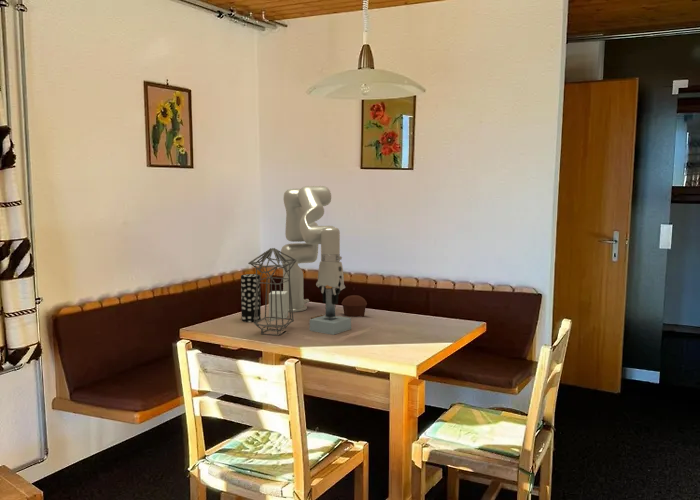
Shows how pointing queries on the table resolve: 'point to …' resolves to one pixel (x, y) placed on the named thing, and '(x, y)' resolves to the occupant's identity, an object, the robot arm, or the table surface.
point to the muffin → (354, 306)
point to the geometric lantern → (282, 259)
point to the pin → (329, 302)
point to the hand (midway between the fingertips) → (330, 302)
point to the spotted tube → (249, 297)
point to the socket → (330, 324)
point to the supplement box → (278, 305)
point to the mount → (316, 317)
